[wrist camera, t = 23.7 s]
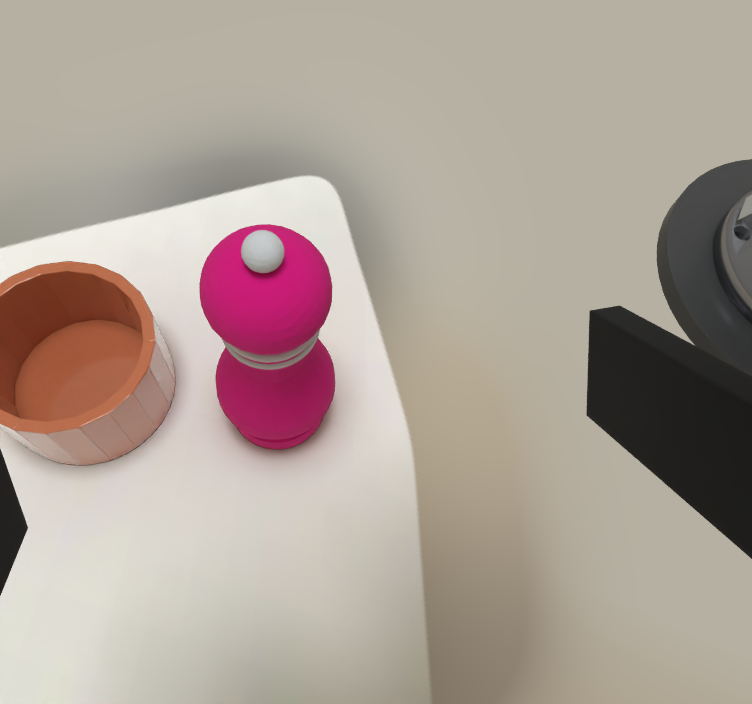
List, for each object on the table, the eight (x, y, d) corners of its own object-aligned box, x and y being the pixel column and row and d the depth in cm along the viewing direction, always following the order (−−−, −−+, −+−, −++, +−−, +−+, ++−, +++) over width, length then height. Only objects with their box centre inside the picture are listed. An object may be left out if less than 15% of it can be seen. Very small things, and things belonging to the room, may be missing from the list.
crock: (202, 415, 45) (185, 376, 38) (42, 496, 42) (-5, 468, 35) (136, 290, 48) (110, 235, 42) (-17, 356, 45) (-70, 308, 39)
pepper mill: (200, 412, 45) (130, 248, 27) (272, 335, 48) (253, 139, 29) (284, 479, 44) (271, 355, 25) (354, 397, 46) (386, 232, 28)
